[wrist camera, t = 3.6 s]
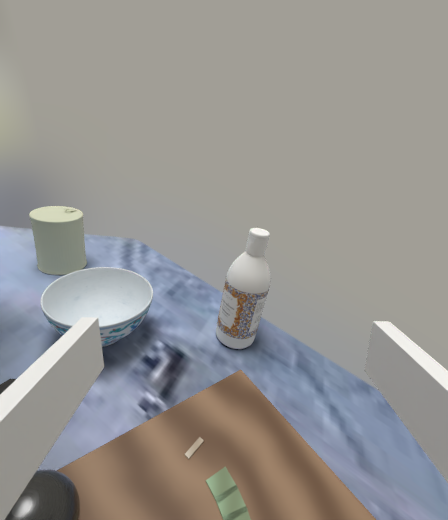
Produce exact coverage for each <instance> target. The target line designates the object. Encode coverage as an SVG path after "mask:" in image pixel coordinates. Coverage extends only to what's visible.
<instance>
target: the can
mask: <svg viewBox="0 0 448 520" xmlns="http://www.w3.org/2000/svg"><path fill="white" fill-rule="evenodd" d="M29 216H30V219H31V224H32V230H33V235H34V241H35V247H36V254H37V261H38V265H37V266H38V269H39V270H40V271H41V272H43V273H46V274H51V275H66V274H69V273H72V272H75V271H79V270H81V269H83V268H84V267H85V266H86V264H87V260H86V255H85V243H84V228H83V213H82V212H81V211H80V210H78V209H75V208H71V207H64V206H49V207H42V208H37V209H35V210H33V211H31V212H30V214H29Z"/></svg>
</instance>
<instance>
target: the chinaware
mask: <svg viewBox="0 0 448 520" xmlns="http://www.w3.org/2000/svg"><path fill="white" fill-rule="evenodd" d="M152 298H153V290H152V287H151V285H150V283H149V282H148V281H147V280H146V279H145V278H144V277H142V276H141V275H139V274H137V273H135V272H132V271H129V270H125V269H120V268H111V267H98V268H89V269H83V270H79V271H75V272H72V273H69V274H67V275H65V276H62V277H61V278H59V279H57V280H55V281H54V282H53V283H51V284H50V285H49V286H48V287H47V288H46V289H45V291H44V292H43V294H42V297H41V307H42V310H43V313H44V315H45V316H46V318H47V320H48V321H49V323H50V324H51V325H52V327H53V328H54V329H55V330H56V331H57V332H58V333H60V334H61V335H62V336H63V335H64V334H65V333H66V332H67V331H68V330H69V329H70V328H71V327H72V326H73V325H75V324H76V323H77V322H78V321H79V320H80V319H81V318H82V317H95V318H98V320H99V328H100V336H101V344H102V347H104V346H108V345H111V344H113V343H115V342H117V341H118V340H120V339H122V338H123V337H125V336H127V335H128V334H130V333H131V332H132V331H133V330H135V329H136V328H137V327H138V326H139V324H140V323H141V322H142V321H143V319H144V317H145V316H146V314H147V312H148V310H149V307H150V305H151V302H152Z"/></svg>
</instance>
